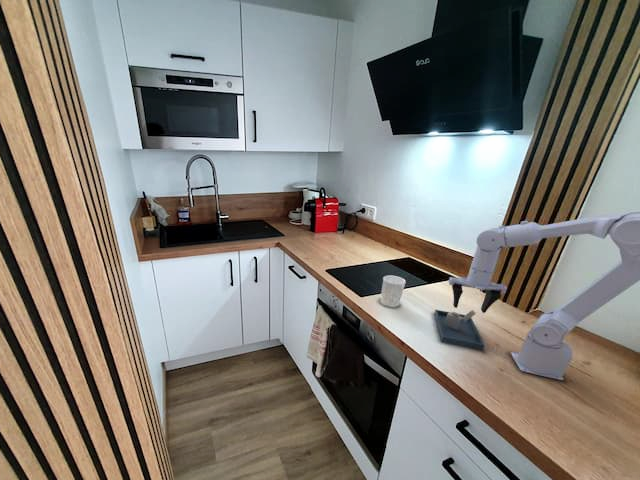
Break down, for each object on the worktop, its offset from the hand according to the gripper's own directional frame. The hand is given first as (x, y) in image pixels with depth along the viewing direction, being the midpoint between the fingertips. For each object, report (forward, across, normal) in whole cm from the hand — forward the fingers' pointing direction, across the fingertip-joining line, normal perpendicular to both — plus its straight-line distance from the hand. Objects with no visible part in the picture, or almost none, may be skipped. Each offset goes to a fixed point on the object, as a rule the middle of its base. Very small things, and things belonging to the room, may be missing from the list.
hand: (468, 308), depth 89 cm
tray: (+10, -1, +2) cm, 10 cm away
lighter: (+9, -1, +2) cm, 10 cm away
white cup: (+10, -22, +12) cm, 27 cm away
